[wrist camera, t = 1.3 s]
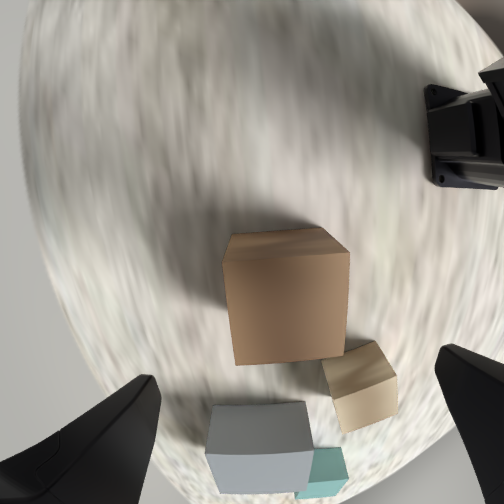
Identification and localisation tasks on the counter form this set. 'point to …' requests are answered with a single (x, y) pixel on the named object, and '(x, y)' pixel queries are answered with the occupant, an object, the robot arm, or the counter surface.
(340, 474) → the teal cube
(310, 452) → the grey cube
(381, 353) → the maple cube
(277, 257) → the walnut cube
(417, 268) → the counter surface
